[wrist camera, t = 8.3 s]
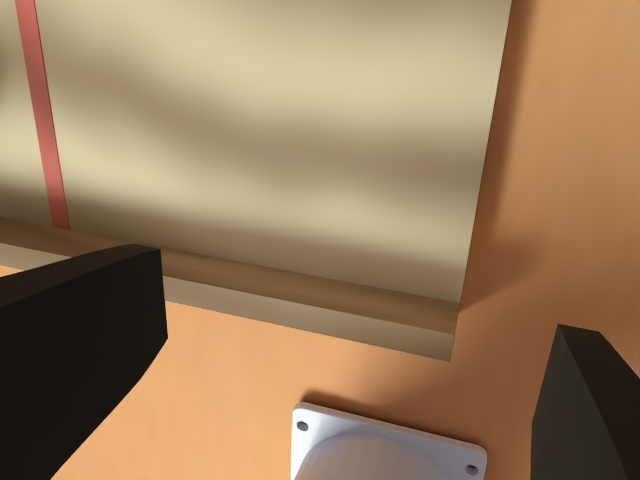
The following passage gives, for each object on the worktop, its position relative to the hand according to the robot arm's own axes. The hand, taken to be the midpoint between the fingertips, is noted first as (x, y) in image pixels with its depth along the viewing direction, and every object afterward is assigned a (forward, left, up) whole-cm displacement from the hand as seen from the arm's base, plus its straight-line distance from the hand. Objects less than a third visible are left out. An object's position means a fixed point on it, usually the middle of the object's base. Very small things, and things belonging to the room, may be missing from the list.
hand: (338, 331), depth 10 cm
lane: (+2, +12, -10) cm, 16 cm away
